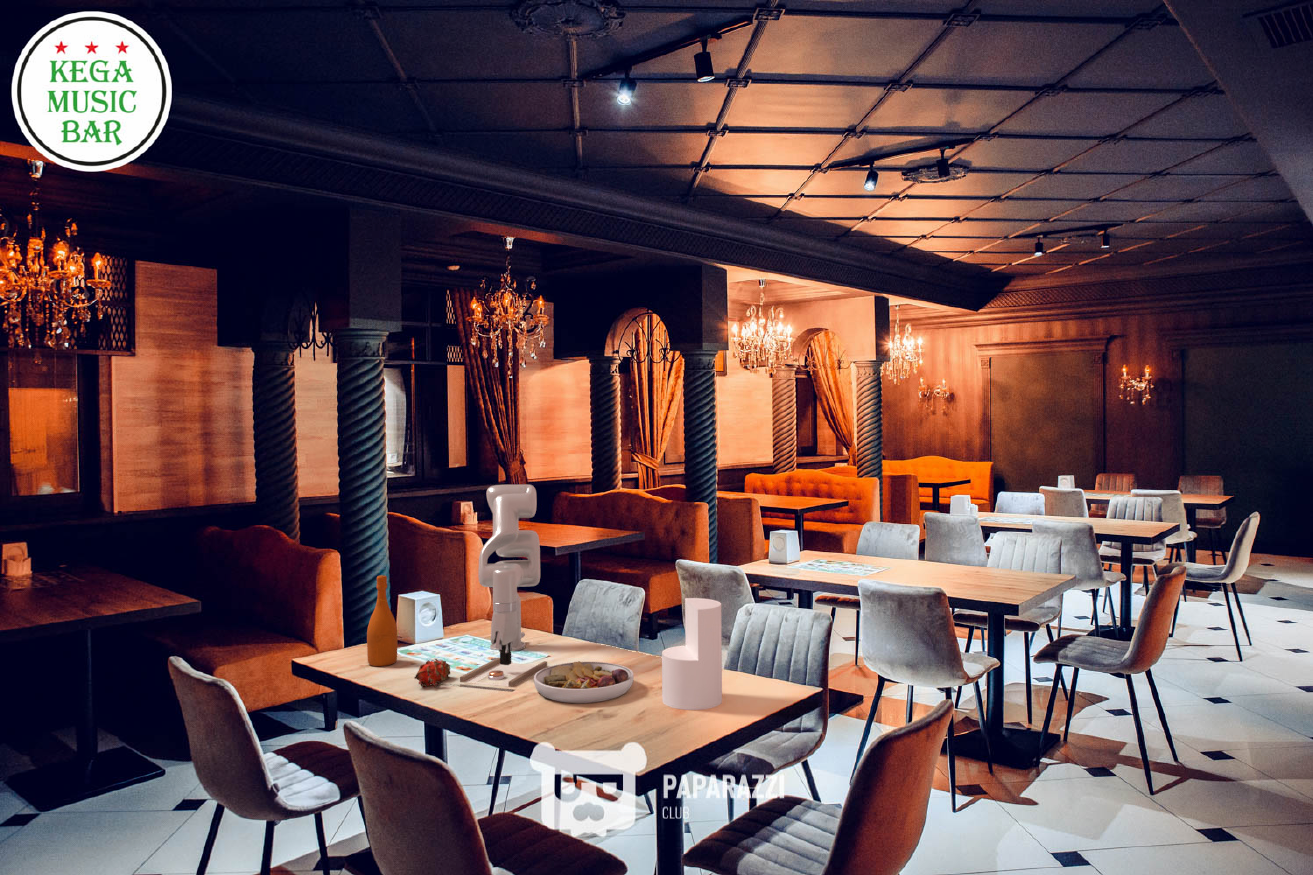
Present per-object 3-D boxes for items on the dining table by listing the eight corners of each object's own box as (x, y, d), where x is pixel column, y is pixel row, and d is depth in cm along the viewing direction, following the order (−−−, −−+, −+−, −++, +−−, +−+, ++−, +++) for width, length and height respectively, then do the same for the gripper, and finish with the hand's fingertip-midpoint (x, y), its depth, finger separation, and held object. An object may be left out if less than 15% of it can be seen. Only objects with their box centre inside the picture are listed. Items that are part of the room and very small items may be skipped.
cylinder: (714, 689, 257) (713, 596, 257) (728, 707, 240) (727, 608, 240) (657, 693, 254) (656, 599, 254) (668, 711, 237) (667, 611, 237)
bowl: (515, 700, 249) (515, 673, 249) (561, 673, 277) (561, 649, 277) (610, 711, 239) (609, 683, 239) (648, 681, 267) (647, 656, 267)
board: (498, 666, 285) (498, 657, 285) (547, 670, 280) (547, 661, 279) (459, 686, 263) (459, 676, 262) (512, 691, 257) (512, 681, 257)
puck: (494, 678, 270) (494, 669, 270) (507, 680, 268) (507, 671, 268) (484, 682, 265) (484, 673, 265) (498, 684, 263) (498, 675, 263)
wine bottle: (403, 661, 292) (402, 574, 292) (380, 668, 284) (379, 578, 284) (384, 658, 297) (383, 572, 297) (361, 664, 289) (360, 576, 289)
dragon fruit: (454, 686, 268) (418, 699, 261) (443, 666, 273) (407, 678, 266) (458, 668, 264) (421, 681, 256) (446, 648, 268) (409, 660, 261)
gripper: (506, 601, 280) (506, 656, 280) (482, 611, 266) (483, 669, 266) (526, 602, 277) (527, 658, 278) (504, 612, 263) (504, 671, 264)
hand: (505, 664), depth 272 cm, fingers closed
